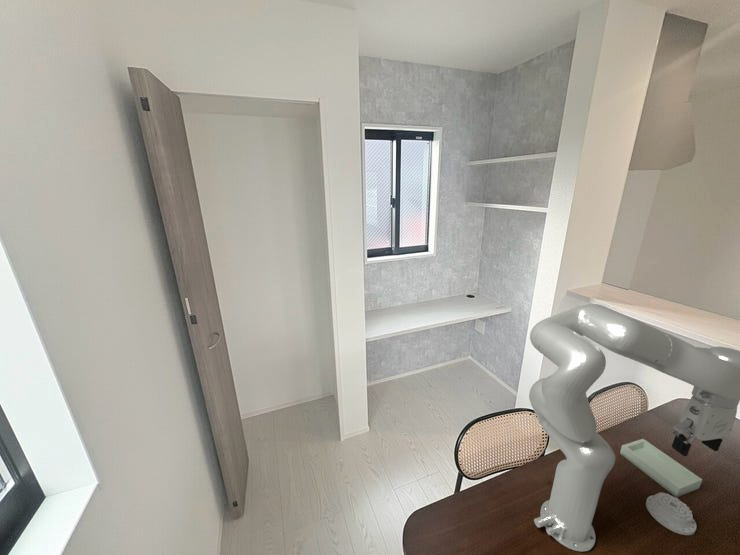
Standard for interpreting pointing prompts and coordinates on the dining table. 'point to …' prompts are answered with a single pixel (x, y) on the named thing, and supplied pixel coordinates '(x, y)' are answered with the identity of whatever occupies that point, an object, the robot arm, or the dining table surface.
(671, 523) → the mechanical component
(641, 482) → the dining table surface
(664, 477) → the tray
